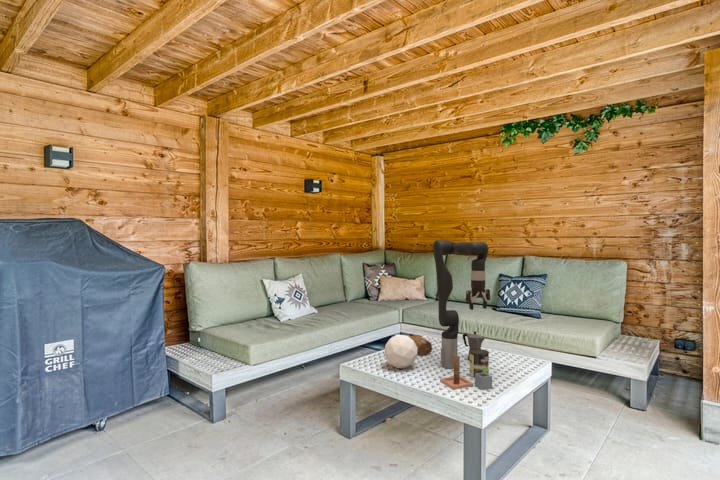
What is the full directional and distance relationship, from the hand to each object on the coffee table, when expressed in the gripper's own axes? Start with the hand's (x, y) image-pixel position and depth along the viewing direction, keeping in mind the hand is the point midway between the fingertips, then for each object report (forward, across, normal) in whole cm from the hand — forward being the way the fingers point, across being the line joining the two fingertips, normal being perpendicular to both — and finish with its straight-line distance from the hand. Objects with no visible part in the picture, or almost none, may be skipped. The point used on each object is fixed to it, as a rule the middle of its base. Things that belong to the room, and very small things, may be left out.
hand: (478, 309), depth 223 cm
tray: (+38, +16, +3) cm, 41 cm away
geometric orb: (+38, +29, -34) cm, 59 cm away
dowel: (+37, +16, +3) cm, 40 cm away
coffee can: (+38, -3, -3) cm, 39 cm away
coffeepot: (+38, -19, -29) cm, 52 cm away
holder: (+38, +6, +12) cm, 40 cm away
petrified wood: (+38, +4, -57) cm, 69 cm away
